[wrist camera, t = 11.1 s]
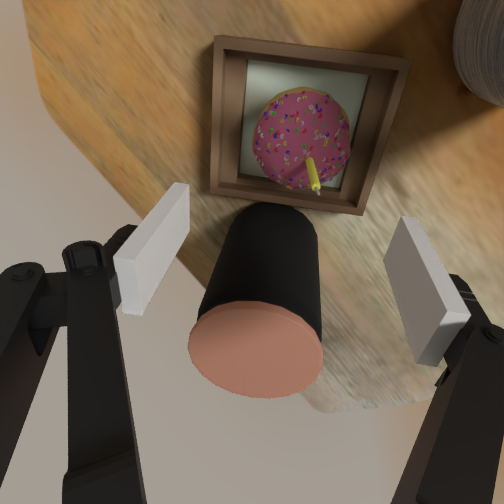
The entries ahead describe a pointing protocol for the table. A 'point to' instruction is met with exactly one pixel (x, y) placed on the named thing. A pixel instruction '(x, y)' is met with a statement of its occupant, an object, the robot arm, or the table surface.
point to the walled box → (289, 77)
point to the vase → (481, 48)
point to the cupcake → (302, 138)
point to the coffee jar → (262, 307)
